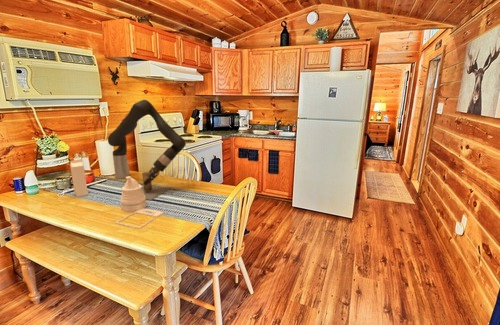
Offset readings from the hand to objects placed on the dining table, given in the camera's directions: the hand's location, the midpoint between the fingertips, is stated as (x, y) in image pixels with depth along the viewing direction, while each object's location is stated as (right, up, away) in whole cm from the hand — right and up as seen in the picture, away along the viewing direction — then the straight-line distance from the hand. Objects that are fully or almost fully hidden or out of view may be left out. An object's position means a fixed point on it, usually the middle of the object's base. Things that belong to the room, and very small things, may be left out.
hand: (144, 183), depth 162 cm
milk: (-38, -7, -2) cm, 39 cm away
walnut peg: (+2, -4, +2) cm, 5 cm away
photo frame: (+11, -16, -31) cm, 37 cm away
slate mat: (+2, -6, +2) cm, 7 cm away
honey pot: (+2, -12, -18) cm, 22 cm away
